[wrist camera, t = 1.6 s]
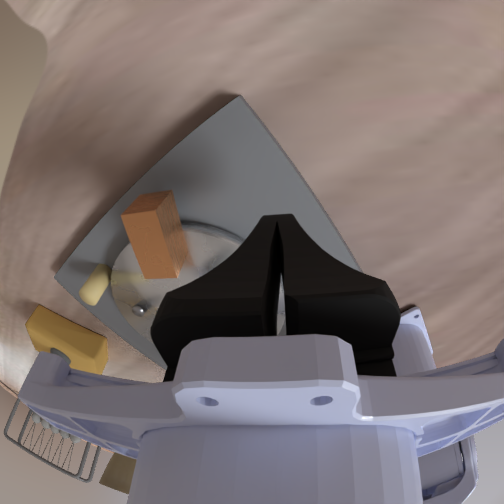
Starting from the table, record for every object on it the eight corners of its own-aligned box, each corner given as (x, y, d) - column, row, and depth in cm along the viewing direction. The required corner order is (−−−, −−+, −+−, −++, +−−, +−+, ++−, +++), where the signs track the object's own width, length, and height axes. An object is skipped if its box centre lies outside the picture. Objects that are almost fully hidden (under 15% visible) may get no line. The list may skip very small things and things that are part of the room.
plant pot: (104, 411, 44) (83, 477, 31) (168, 423, 42) (151, 501, 29) (138, 437, 52) (124, 493, 39) (195, 447, 50) (185, 509, 37)
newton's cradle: (32, 405, 63) (17, 445, 48) (19, 392, 57) (1, 434, 42) (104, 439, 64) (91, 485, 49) (94, 429, 58) (79, 480, 43)
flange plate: (288, 351, 23) (288, 385, 20) (150, 348, 25) (139, 378, 22) (275, 172, 15) (276, 198, 12) (79, 200, 16) (49, 227, 13)
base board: (377, 298, 21) (390, 338, 18) (187, 374, 30) (179, 405, 26) (240, 94, 14) (229, 99, 10) (59, 269, 22) (37, 298, 19)
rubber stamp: (106, 336, 27) (67, 428, 18) (108, 359, 31) (77, 440, 21) (38, 302, 26) (-10, 379, 16) (46, 329, 29) (8, 399, 19)
